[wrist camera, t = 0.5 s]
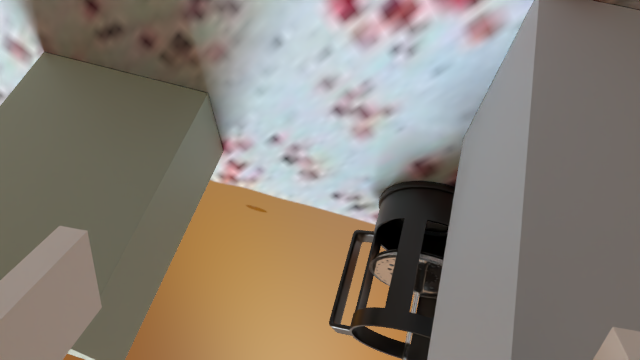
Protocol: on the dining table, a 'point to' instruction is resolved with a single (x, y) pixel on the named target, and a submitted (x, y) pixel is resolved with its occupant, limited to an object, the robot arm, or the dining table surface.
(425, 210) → the french press
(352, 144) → the dining table surface
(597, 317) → the stand
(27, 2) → the dining table surface
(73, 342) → the robot arm
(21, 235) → the sage green block
